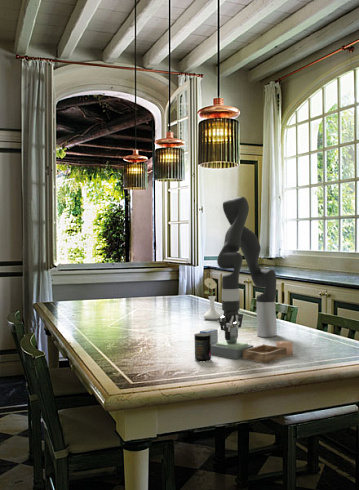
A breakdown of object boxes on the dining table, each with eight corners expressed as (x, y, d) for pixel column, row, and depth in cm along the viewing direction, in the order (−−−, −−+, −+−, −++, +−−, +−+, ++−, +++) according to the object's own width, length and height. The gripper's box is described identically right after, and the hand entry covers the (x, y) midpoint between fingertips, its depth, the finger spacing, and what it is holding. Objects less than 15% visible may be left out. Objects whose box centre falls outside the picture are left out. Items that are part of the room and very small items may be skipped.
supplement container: (210, 362, 203) (209, 336, 203) (193, 361, 204) (193, 336, 204) (212, 358, 210) (211, 333, 210) (196, 357, 211) (195, 332, 211)
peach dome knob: (282, 351, 218) (281, 340, 218) (296, 354, 213) (296, 342, 213) (272, 354, 213) (272, 342, 213) (287, 357, 208) (286, 345, 208)
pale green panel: (227, 342, 222) (227, 340, 222) (248, 346, 214) (247, 343, 214) (215, 345, 217) (215, 343, 217) (236, 349, 209) (236, 346, 209)
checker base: (227, 349, 225) (227, 341, 224) (253, 354, 214) (253, 345, 214) (210, 354, 217) (210, 345, 217) (236, 359, 207) (236, 350, 207)
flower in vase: (225, 319, 305) (225, 278, 305) (210, 321, 299) (210, 279, 298) (212, 316, 316) (211, 276, 316) (197, 318, 310) (196, 278, 309)
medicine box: (210, 347, 231) (209, 328, 230) (218, 348, 228) (217, 329, 228) (199, 350, 225) (199, 330, 224) (207, 351, 222) (207, 331, 222)
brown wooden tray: (242, 358, 207) (242, 350, 207) (263, 352, 218) (263, 344, 218) (265, 363, 199) (265, 354, 199) (286, 356, 210) (286, 348, 210)
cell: (230, 340, 219) (230, 324, 218) (238, 342, 215) (238, 325, 215) (224, 342, 215) (224, 325, 215) (232, 343, 212) (232, 326, 212)
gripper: (234, 296, 223) (235, 335, 223) (212, 300, 213) (213, 340, 213) (248, 298, 218) (248, 337, 218) (226, 301, 208) (227, 343, 208)
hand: (231, 339), depth 215 cm, fingers closed on cell, 4 cm apart
